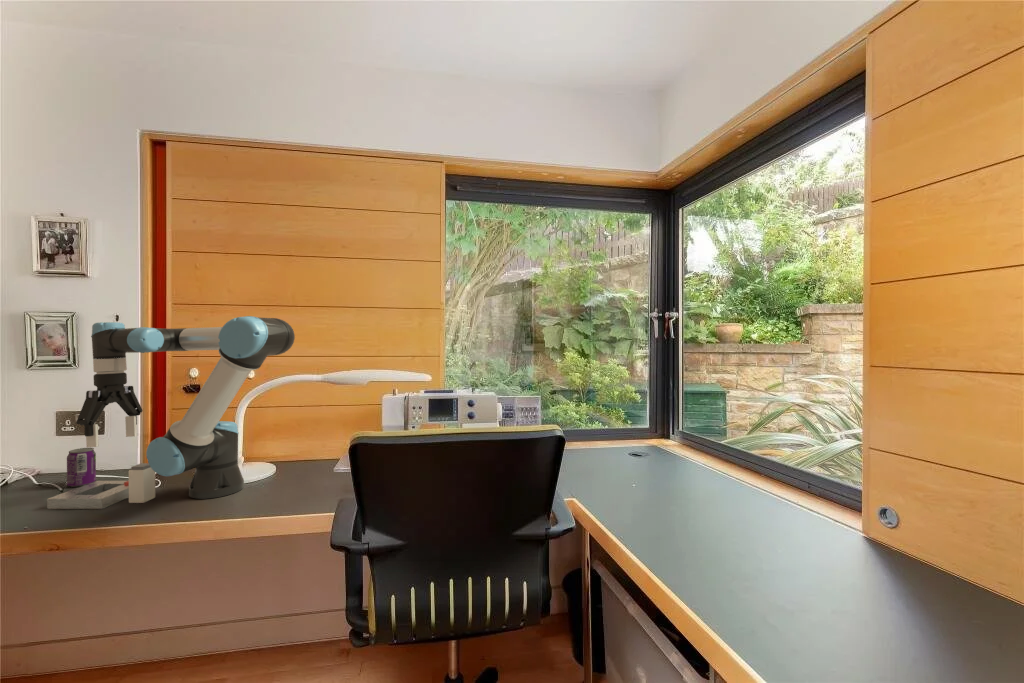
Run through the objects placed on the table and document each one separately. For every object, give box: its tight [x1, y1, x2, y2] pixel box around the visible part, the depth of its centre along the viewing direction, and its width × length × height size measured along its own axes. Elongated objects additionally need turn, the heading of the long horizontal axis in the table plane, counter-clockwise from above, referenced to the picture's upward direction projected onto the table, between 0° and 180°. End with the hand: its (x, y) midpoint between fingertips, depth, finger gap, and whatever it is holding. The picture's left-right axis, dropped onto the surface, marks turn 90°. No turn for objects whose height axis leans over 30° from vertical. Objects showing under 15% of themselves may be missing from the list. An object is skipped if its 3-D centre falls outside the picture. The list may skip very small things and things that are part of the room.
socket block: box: [46, 480, 129, 510], centre depth 137 cm, size 16×16×4 cm
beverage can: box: [66, 447, 97, 488], centre depth 150 cm, size 7×7×12 cm
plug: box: [128, 462, 156, 504], centre depth 136 cm, size 4×4×11 cm
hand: (112, 441), depth 134 cm, fingers open, 13 cm apart
